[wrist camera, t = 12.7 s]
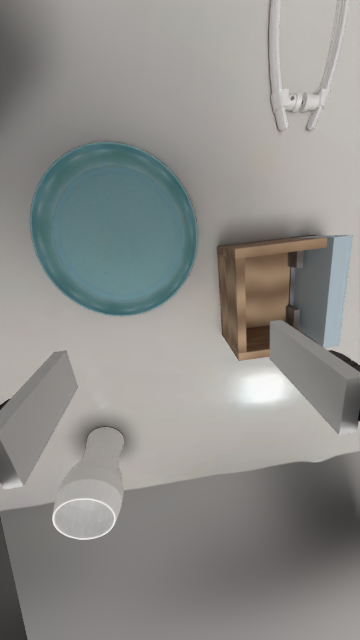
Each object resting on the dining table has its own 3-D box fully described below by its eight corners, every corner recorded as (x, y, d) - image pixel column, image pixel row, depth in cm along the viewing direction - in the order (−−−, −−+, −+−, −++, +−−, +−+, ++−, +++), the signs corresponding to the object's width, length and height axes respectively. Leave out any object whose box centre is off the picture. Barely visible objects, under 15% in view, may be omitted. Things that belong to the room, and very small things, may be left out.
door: (296, 237, 39) (334, 237, 30) (310, 236, 39) (352, 235, 30) (291, 327, 44) (323, 348, 36) (304, 325, 44) (339, 345, 36)
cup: (137, 427, 50) (128, 502, 36) (122, 463, 53) (108, 546, 38) (87, 415, 48) (56, 489, 34) (75, 453, 51) (41, 536, 37)
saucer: (154, 332, 43) (153, 340, 40) (20, 270, 38) (8, 272, 35) (222, 207, 37) (228, 204, 34) (74, 111, 32) (65, 97, 29)
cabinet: (217, 246, 39) (235, 249, 29) (318, 234, 39) (368, 232, 30) (222, 334, 44) (238, 360, 35) (311, 322, 45) (352, 344, 35)
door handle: (259, 136, 35) (275, -131, 26) (322, 135, 35) (358, -126, 27) (266, 128, 32) (287, -170, 24) (335, 127, 33) (379, -164, 24)
